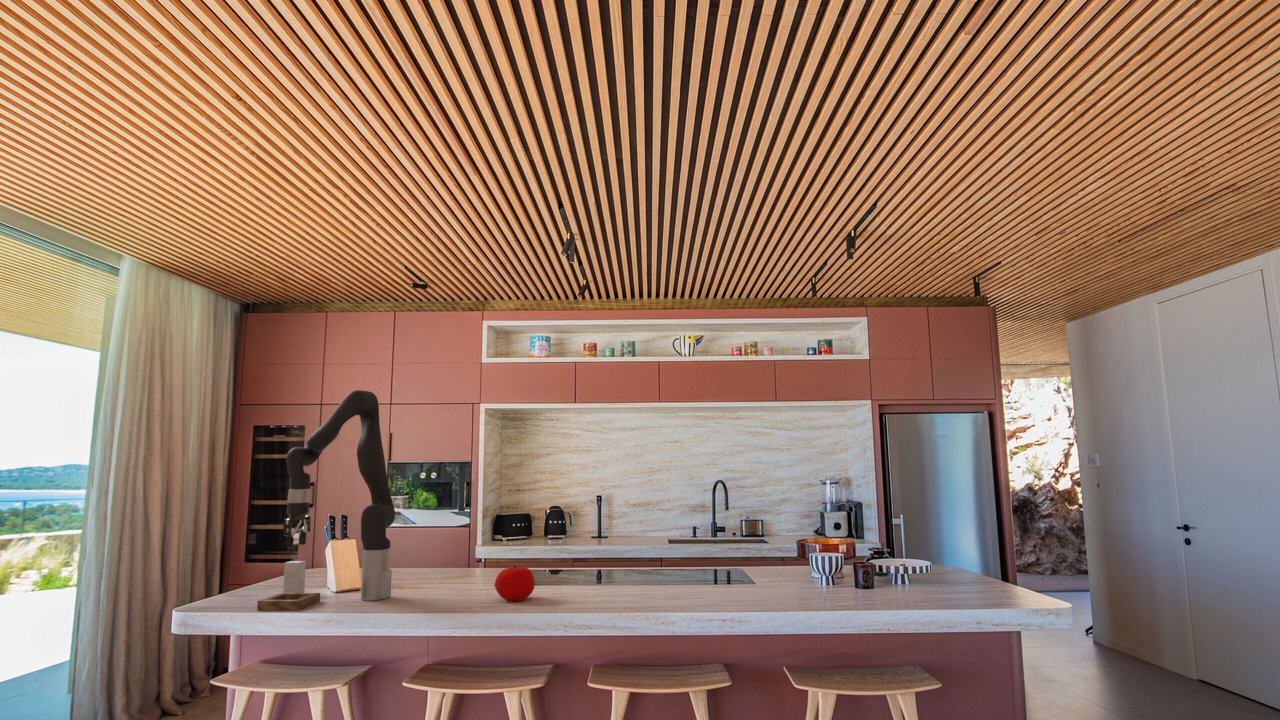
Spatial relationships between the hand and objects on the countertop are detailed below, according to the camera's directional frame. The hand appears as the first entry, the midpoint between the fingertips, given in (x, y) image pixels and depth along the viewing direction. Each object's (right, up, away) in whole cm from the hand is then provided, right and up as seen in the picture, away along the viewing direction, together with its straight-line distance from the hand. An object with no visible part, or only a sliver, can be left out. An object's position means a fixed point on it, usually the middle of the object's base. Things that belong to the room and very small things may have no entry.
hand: (296, 545), depth 260 cm
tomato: (+84, -15, -14) cm, 86 cm away
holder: (+8, -15, -21) cm, 27 cm away
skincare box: (0, -18, -2) cm, 18 cm away
